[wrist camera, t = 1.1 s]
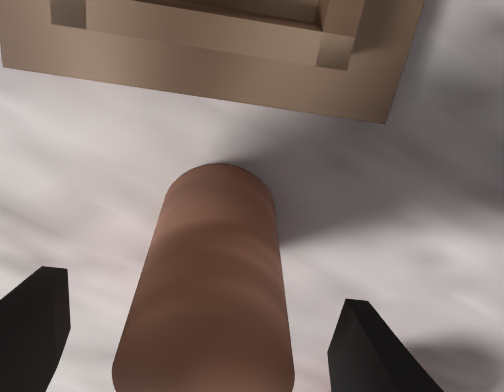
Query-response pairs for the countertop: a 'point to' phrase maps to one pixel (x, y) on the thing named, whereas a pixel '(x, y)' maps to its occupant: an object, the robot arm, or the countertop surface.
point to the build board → (223, 48)
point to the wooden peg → (209, 293)
